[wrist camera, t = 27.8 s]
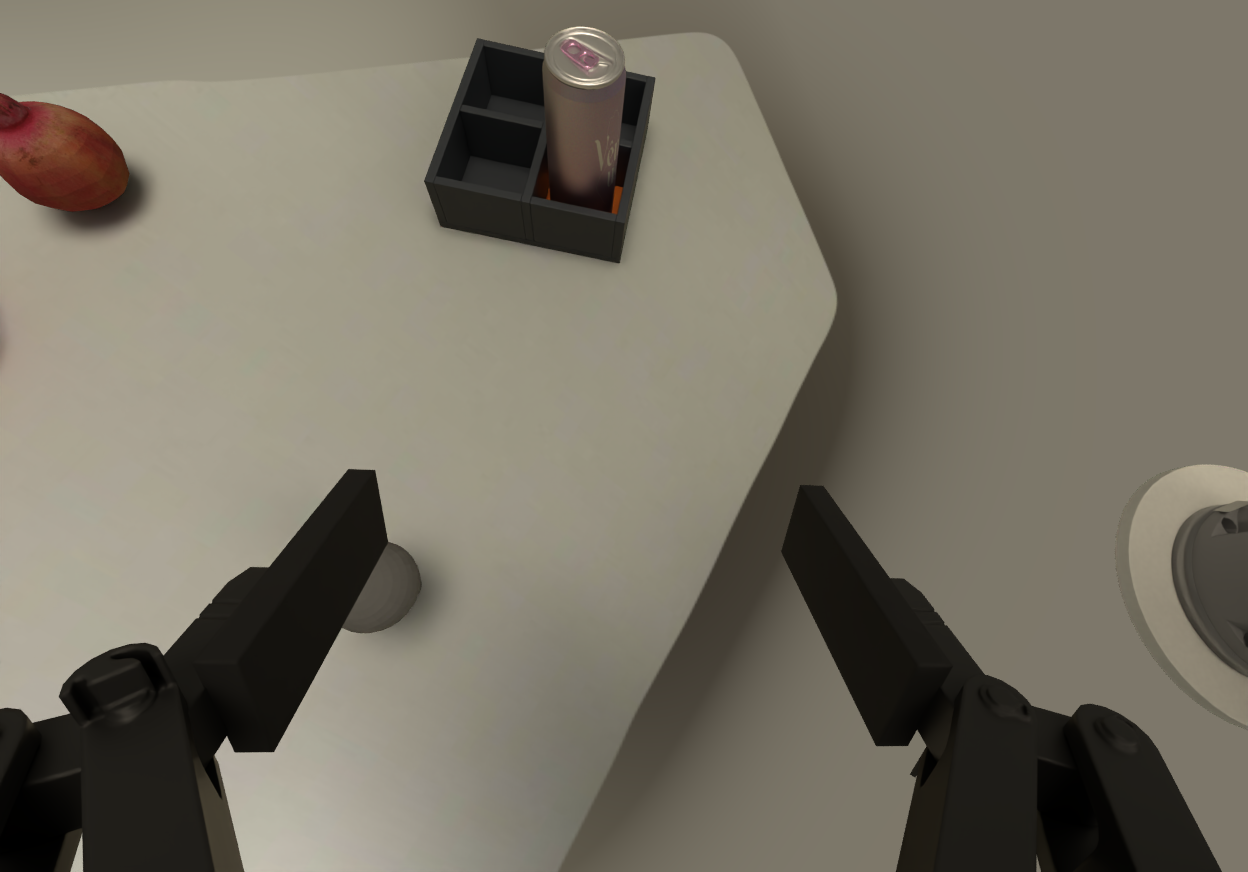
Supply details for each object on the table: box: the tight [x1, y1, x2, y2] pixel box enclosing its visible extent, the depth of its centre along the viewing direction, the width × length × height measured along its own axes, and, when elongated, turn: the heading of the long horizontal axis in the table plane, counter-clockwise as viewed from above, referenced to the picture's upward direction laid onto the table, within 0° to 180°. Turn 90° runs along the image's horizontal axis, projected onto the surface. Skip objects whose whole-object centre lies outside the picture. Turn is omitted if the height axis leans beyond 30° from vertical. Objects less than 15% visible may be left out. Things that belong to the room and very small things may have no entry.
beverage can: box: [542, 26, 626, 213], centre depth 42 cm, size 6×6×15 cm
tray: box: [424, 39, 655, 263], centre depth 48 cm, size 17×17×6 cm
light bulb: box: [342, 542, 421, 633], centre depth 34 cm, size 6×6×10 cm
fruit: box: [0, 93, 129, 212], centre depth 41 cm, size 8×8×10 cm
